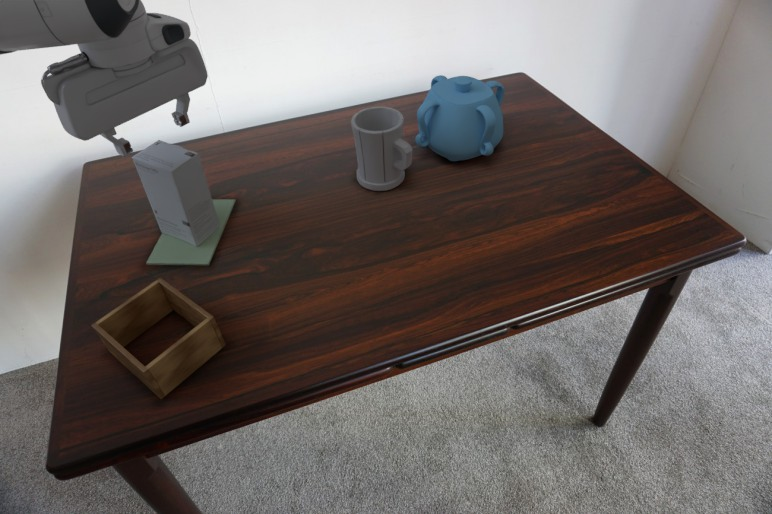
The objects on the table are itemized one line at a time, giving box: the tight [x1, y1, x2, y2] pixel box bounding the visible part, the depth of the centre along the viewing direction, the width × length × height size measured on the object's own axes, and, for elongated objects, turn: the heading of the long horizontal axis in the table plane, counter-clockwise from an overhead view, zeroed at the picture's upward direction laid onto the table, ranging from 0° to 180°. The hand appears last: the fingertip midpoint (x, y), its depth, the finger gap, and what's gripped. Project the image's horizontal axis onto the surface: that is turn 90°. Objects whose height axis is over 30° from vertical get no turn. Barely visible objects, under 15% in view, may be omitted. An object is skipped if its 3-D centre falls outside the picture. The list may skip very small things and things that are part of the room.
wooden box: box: [91, 277, 226, 400], centre depth 68 cm, size 10×12×6 cm
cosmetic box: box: [131, 139, 220, 246], centre depth 81 cm, size 8×6×15 cm
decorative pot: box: [414, 74, 505, 162], centre depth 98 cm, size 16×16×14 cm
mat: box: [145, 198, 237, 267], centre depth 87 cm, size 16×10×1 cm, turn 177°
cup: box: [350, 105, 413, 192], centre depth 91 cm, size 10×9×12 cm
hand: (155, 138), depth 74 cm, fingers open, 8 cm apart
